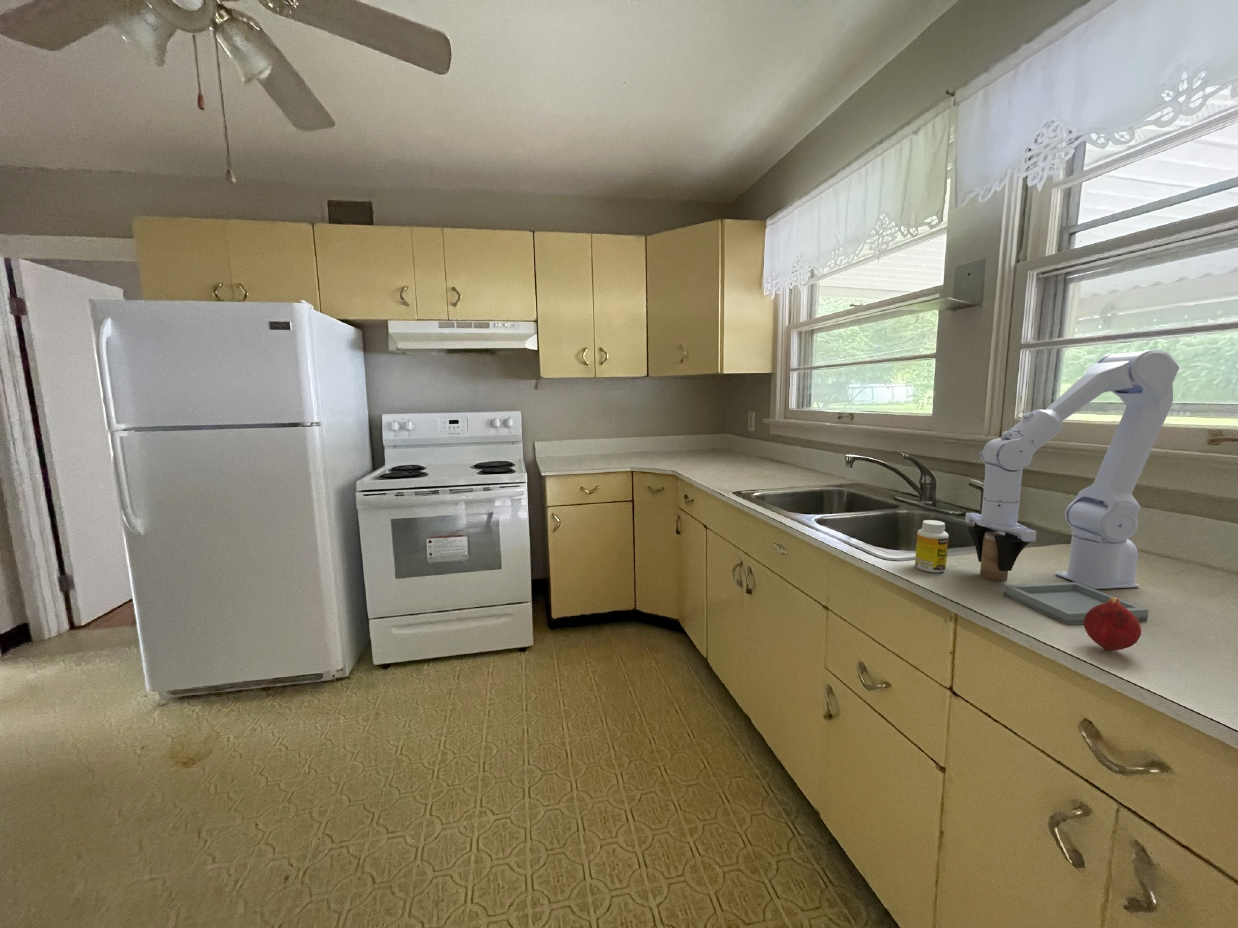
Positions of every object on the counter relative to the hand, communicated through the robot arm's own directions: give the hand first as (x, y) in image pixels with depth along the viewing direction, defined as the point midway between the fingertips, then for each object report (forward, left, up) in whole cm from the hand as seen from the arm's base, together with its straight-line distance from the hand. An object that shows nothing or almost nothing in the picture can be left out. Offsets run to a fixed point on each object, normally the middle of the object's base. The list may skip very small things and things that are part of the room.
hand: (994, 565), depth 99 cm
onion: (+7, +28, -3) cm, 29 cm away
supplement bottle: (+9, -6, -3) cm, 11 cm away
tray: (-2, +14, -2) cm, 14 cm away
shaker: (0, 0, -2) cm, 2 cm away
